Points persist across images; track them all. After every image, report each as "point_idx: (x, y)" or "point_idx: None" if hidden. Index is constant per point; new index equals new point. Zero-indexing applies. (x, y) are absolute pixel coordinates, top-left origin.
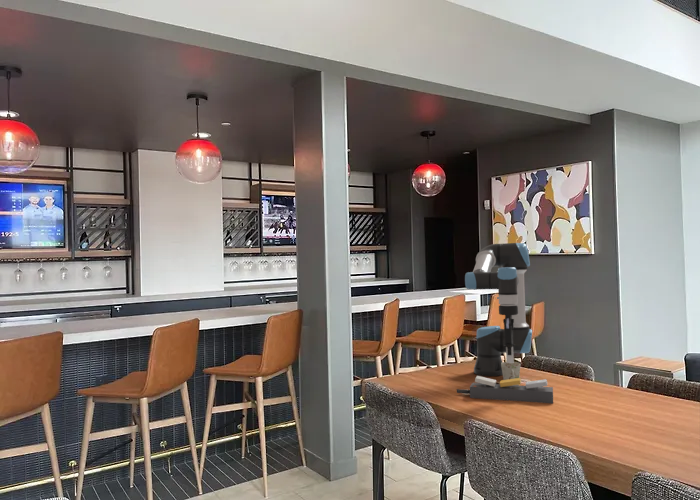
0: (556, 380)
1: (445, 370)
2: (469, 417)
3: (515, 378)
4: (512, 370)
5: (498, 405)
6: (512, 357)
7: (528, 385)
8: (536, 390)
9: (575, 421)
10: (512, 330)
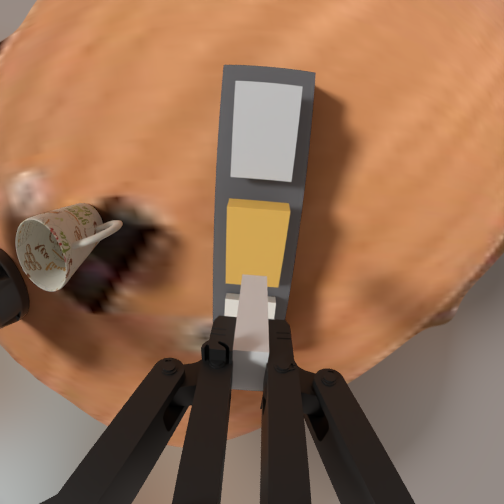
0: (8, 105)
1: (36, 363)
2: (445, 316)
3: (226, 228)
4: (89, 243)
5: (356, 262)
6: (267, 301)
7: (291, 168)
8: (302, 134)
9: (469, 80)
10: (117, 475)
